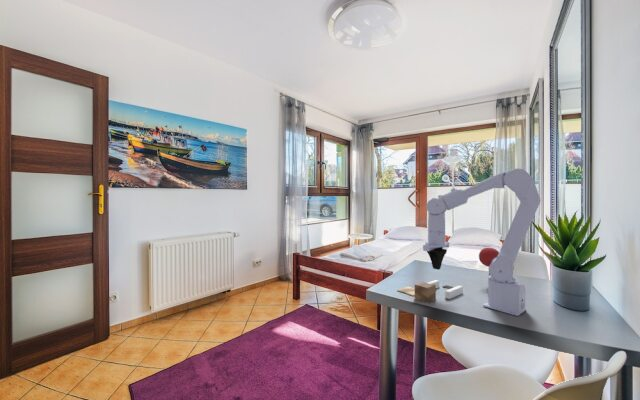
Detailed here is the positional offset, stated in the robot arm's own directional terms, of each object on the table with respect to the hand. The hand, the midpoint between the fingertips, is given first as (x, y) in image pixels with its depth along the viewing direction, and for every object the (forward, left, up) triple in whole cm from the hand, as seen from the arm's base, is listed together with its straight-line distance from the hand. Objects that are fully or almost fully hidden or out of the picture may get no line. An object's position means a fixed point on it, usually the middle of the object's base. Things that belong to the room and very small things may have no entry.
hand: (436, 268), depth 97 cm
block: (0, +8, -10) cm, 12 cm away
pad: (+8, +5, -9) cm, 13 cm away
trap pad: (0, -11, -9) cm, 15 cm away
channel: (0, -4, -9) cm, 10 cm away
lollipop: (-7, -29, -10) cm, 31 cm away
